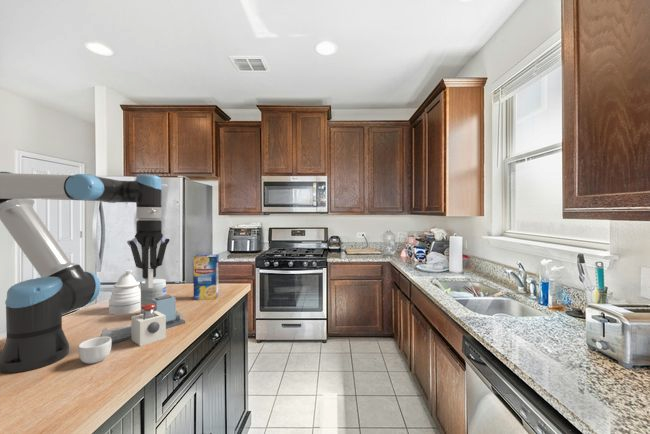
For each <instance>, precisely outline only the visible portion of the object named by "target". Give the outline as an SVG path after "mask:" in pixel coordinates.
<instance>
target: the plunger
mask: <svg viewBox="0 0 650 434" xmlns="http://www.w3.org/2000/svg"><path fill="white" fill-rule="evenodd" d="M155 307H156V304H155V303H149V304H144V305H142V306H141V309H143V320H144V319H148V318H152V317H154V308H155Z"/></svg>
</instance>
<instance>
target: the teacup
mask: <svg viewBox="0 0 650 434" xmlns="http://www.w3.org/2000/svg"><path fill="white" fill-rule="evenodd" d="M112 345H113V344H112V339H111V338H110V337H101V336H97V337H92V338H90V339H87V340H84V341H82V342H80V343H79V345H78V357H79V358H80V361H81V362H83V363H85V364H89V365H90V364H91V365H92V364H96V363H99V362H103V360H105V359H106V358H107V357H108V356H109V354H110V353H111V349H112Z"/></svg>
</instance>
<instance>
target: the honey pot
mask: <svg viewBox="0 0 650 434" xmlns="http://www.w3.org/2000/svg"><path fill="white" fill-rule="evenodd" d="M132 272H133V270H132V269H127V270H125V273H123V274H122V275H121V276H120V277H119V278H118V280H117V282H116V283H114V285H113V289H112V291H111V295H110V298H109V299H108V313H109V314H111V315H125V314H130V313H131V314H132V313H135V312H138V311H141V287H140V286H139V285H141V282H140V281H137V280H136V278H135V277H134V276H133V275H132Z"/></svg>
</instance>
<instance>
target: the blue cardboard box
mask: <svg viewBox="0 0 650 434" xmlns="http://www.w3.org/2000/svg"><path fill="white" fill-rule="evenodd" d="M219 260H220V259H219V254H196V255H195V256H193V300H194V301H203V300H205V299H207V300H217V298H218V297H219V281H220V279H219V270H220V269H219V265H220V263H219V262H220V261H219Z"/></svg>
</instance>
